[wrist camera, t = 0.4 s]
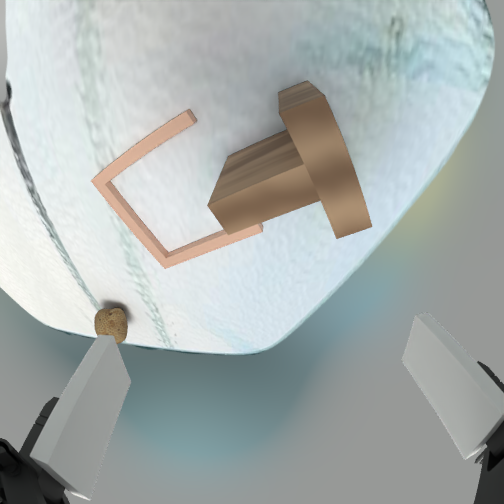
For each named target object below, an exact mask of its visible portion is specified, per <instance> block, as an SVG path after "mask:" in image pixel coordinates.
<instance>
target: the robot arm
mask: <svg viewBox="0 0 504 504" xmlns="http://www.w3.org/2000/svg"><path fill="white" fill-rule="evenodd" d="M402 362H403V364H404V365H405V367H406V368H407V370H408V371H409V373H410V374H411V375H412V377H413V378H414V380H415V381H416V383H417V384H418V386H419V387H420V389H421V390H422V392H423V393H424V394H425V396H426V398H427V399H428V401H429V402H430V404H431V406H432V407H433V409H434V410H435V412H436V413H437V415H438V417H439V418H440V420H441V421H442V423H443V424H444V426H445V428H446V430H447V431H448V433H449V435H450V436H451V438H452V439H453V441H454V443H455V445H456V446H457V448H458V450H459V451H460V453H461V455H462V457H463V458H464V460H465V459H467V458H469V457H470V456H472V455H473V454H475V453H477V452H478V451H479V450H480V449H481V448H482V446H483V445H484V444H485V443H486V445H487V448H486V449H485V450H484V451H483V452H482V453H481V454H480V455H479V456H478V457H477V459H476V461H475V463H477V462H478V461H479V460H480V459H481V458H482V457H483V456H484V457H483V459H482V460H481V462H480V464H482V469H481V474H480V480H479V484H478V489H477V493H476V497H475V501H474V504H504V384H503V383H502V382H500V380H499V379H498V377H497V376H495V374H494V373H493V372H492V371H491V370H490V369H489V367H487V366H486V365H484V364H483V363H481V362H479V361H478V362H476V361H475V360H474V359H473V358H472V357H471V356H470V355H469V353H468V352H467V351H466V350H465V349H464V348H463V347H462V346H461V345H460V344H459V343H458V342H457V341H456V340H455V339H454V338H453V337H452V336H451V335H450V334H449V333H448V332H447V331H446V330H445V329H444V328H443V327H442V326H441V325H440V324H439V323H438V322H437V321H436V320H435V319H434V318H433V317H432V316H431V315H430V314H429V313H428V312H426V313H422V314H417V315H415V319H414V322H413V326H412V329H411V333H410V336H409V339H408V343H407V346H406V349H405V352H404V355H403V358H402ZM130 383H131V380H130V378H129V375H128V373H127V371H126V368H125V365H124V363H123V360H122V358H121V355H120V352H119V349H118V347H117V344H116V341H115V338H114V336H111V335H98V337H97V338H96V340H95V342H94V343H93V344H92V346H91V347H90V349H89V351H88V352H87V354H86V356H85V357H84V358H83V360H82V362H81V363H80V365H79V367H78V368H77V370H76V371H75V373H74V375H73V376H72V378H71V380H70V381H69V383H68V385H67V386H66V388H65V390H64V391H63V393H62V395H61V397H60V398H56V397H53V398H52V399H51V400H50V401H49V402H48V403H46V404H45V406H44V407H43V409H42V411H41V413H40V416H39V417H38V418H37V420H36V421H35V424H34V425H33V427H32V429H31V431H30V432H29V434H28V437H27V438H26V440H25V442H24V444H23V446H22V448H21V450H20V451H19V453H18V452H17V451H16V450H15V449H14V448H13V447H12V446H11V445H10V443H9V442H8V441H7V440H5V439H2V438H0V504H70V503H69V501H68V498H67V497H66V495H65V494H64V490H65V488H66V489H67V490H68V491H70V492H71V493H72V494H74V495H76V496H79V497H82V498H85V499H87V500H90V501H91V498H92V495H93V491H94V487H95V484H96V481H97V478H98V474H99V471H100V468H101V465H102V461H103V458H104V455H105V452H106V449H107V446H108V444H109V441H110V438H111V435H112V432H113V429H114V426H115V423H116V420H117V418H118V415H119V412H120V410H121V407H122V404H123V402H124V399H125V396H126V394H127V391H128V389H129V386H130Z"/></svg>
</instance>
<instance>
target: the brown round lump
mask: <svg viewBox="0 0 504 504" xmlns="http://www.w3.org/2000/svg"><path fill="white" fill-rule="evenodd" d="M127 329H128V325H127V319H126V316H125V313H124V312H123V310H122V309H121V308H113V309H101V310H99V311H98V312H97V314H96V316H95V331H96V334H97V336H98V335H111V336H114V338H115V341H116V344H118V343H121V342H123V341H124V340H125V338H126V336H127Z"/></svg>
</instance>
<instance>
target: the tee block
mask: <svg viewBox="0 0 504 504" xmlns="http://www.w3.org/2000/svg"><path fill="white" fill-rule="evenodd" d="M278 99H279V114H280V116H281V118H282V120H283V122H284V124H285V126H286V128H287V130H285V131H282V132H280V133H278V134H275V135H273V136H271V137H269V138H266V139H264V140H262V141H260V142H257V143H255V144H253V145H251V146H249V147H246V148H244V149H242V150H240V151H238V152H236V153H234V154H232V155H230V156H228V158H227V160H226V162H225V164H224V167H223V169H222V171H221V174H220V176H219V179H218V181H217V183H216V186H215V188H214V190H213V193H212V195H211V198H210V200H209V203H208V205H207V206H208V207H209V209H210V210H211V212H212V213H213V214H214V216H215V217H216V219H217V220H218V221H219V223H220V224H221V226H222V227H223V229H224V230H225V231H226V233H227V234H228V235H230V234H233V233H236V232H238V231H241V230H243V229H246V228H249V227H251V226H254V225H256V224H259V223H262V222H264V221H267V220H269V219H272V218H275V217H277V216H280V215H283V214H285V213H288V212H291V211H293V210H296V209H299V208H301V207H304V206H307V205H310V204H312V203H315V202H318V201H320V200H321V202H322V205H323V207H324V209H325V212H326V214H327V217H328V219H329V221H330V224H331V226H332V229H333V231H334V234H335V236H336V239H338V238H341V237H344V236H347V235H350V234H353V233H356V232H359V231H362V230H365V229H368V228H370V227H372V224H371V220H370V216H369V213H368V210H367V206H366V203H365V200H364V197H363V193H362V190H361V187H360V184H359V181H358V178H357V175H356V172H355V170H354V167H353V164H352V161H351V158H350V156H349V153H348V150H347V148H346V145H345V142H344V140H343V137H342V135H341V132H340V130H339V127H338V125H337V123H336V120H335V118H334V116H333V113H332V111H331V109H330V106H329V104H328V102H327V100H326V98H325V95H323V94H322V93H321V92H320V91H319V90H318V89H317V88H316V87H314V86H313V85H312V84H311V83H310V82H309V81H305V82H303V83H300V84H298V85H295V86H293V87H290V88H288V89H285V90H283V91H281V92H278Z"/></svg>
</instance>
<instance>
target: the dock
mask: <svg viewBox="0 0 504 504" xmlns="http://www.w3.org/2000/svg"><path fill="white" fill-rule="evenodd" d="M196 121H197V120H196V118H195V117H194V115H193V114H192V112H191V111H190V109H188V110H187V111H185V112H183V113H182V114H180V115H178V116H177V117H175V118H174V119H172V120H171V121H169V122H168V123H166V124H165V125H163V126H162V127H160V128H159V129H157V130H156V131H154V132H153V133H151V134H150V135H148V136H147V137H146V138H144V139H143V140H141V141H140V142H139V143H137V144H136V145H135V146H133V147H132V148H131V149H129V150H128V151H127V152H125V153H124V154H123V155H121V156H120V157H119V158H118V159H116V160H115V161H114V162H112V163H111V164H110V165H109V166H108V167H106V168H105V169H104V170H103V171H102V172H100V173H99V174H98V175H97V176H96V177H95V178H93V179H92V180H91V182H92V183H93V184H94V186H95V187H96V188H97V189H98V191H99V192H100V193H101V194H102V196H103V197H104V198H105V200H106V201H107V202H108V203H109V205H110V206H111V207H112V208H113V209H114V211H115V212H116V213H117V214H118V216H119V217H120V218H121V219H122V220H123V222H124V223H125V224H126V225H127V226H128V228H129V229H130V230H131V231H132V232H133V233H134V235H135V236H136V237H137V238H138V239H139V240H140V242H141V243H142V244H143V245H144V246H145V247H146V248H147V250H148V251H149V252H150V253H151V254H152V255H153V256H154V257H155V259H156V260H157V261H158V262H159V263H160V264H161V265H162V266H163V267H164V268H165V269H166V268H169V267H171V266H174V265H176V264H179V263H182V262H184V261H187V260H189V259H192V258H195V257H197V256H200V255H203V254H205V253H208V252H210V251H213V250H216V249H218V248H221V247H224V246H226V245H229V244H232V243H234V242H237V241H240V240H242V239H245V238H248V237H250V236H253V235H256V234H258V233H261V232H263V225H262V224H261V223H259V224H256V225H254V226H251V227H249V228H246V229H243V230H241V231H238V232H236V233H233V234H230V235H228V234H227V233H226V231H225V230H222V231H220V232H217V233H215V234H212V235H210V236H207V237H205V238H203V239H200V240H198V241H195V242H193V243H191V244H188V245H186V246H183V247H181V248H179V249H176V250H174V251H172V252H169V253H168V252H167V250H166V249H165V248H164V247H163V246H162V245H161V243H160V242H159V241H158V240H157V239H156V237H155V236H154V235H153V234H152V233H151V232H150V230H149V229H148V228H147V227H146V225H145V224H144V223H143V222H142V221H141V219H140V218H139V217H138V216H137V214H136V213H135V212H134V211H133V210H132V208H131V207H130V206H129V205H128V203H127V202H126V201H125V199H124V198H123V197H122V196H121V194H120V193H119V192H118V191H117V189H116V188H115V187H114V185H113V184H112V183H111V181H110V180H111V179H112V178H114V177H115V176H116V175H118V174H119V173H120V172H122V171H123V170H124V169H126V168H127V167H129V166H130V165H131V164H133V163H134V162H135V161H137V160H138V159H140V158H141V157H143V156H144V155H145V154H147V153H148V152H150V151H151V150H153V149H154V148H156V147H157V146H159V145H160V144H162V143H163V142H165V141H167V140H168V139H170V138H171V137H173V136H174V135H176V134H178V133H179V132H181V131H183V130H184V129H186V128H188V127H189V126H191V125H193V124H194V123H195V122H196Z"/></svg>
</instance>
